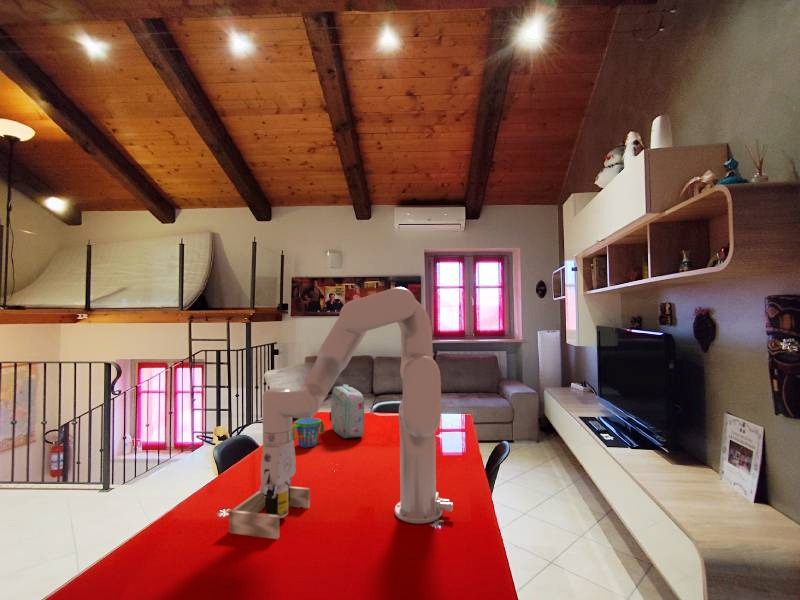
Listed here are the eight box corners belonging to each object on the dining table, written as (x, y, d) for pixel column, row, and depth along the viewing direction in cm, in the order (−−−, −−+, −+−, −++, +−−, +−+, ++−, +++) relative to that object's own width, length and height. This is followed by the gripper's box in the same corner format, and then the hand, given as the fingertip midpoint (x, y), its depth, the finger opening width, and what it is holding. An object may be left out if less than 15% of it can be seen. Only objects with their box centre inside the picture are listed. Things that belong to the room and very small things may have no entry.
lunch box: (327, 427, 194) (327, 383, 195) (348, 425, 199) (347, 381, 200) (343, 442, 170) (343, 391, 171) (366, 439, 174) (366, 389, 176)
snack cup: (317, 438, 176) (317, 415, 177) (331, 443, 169) (331, 419, 169) (284, 446, 165) (284, 421, 166) (297, 452, 158) (297, 426, 158)
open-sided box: (309, 506, 111) (309, 488, 112) (277, 539, 95) (277, 517, 95) (267, 502, 115) (267, 484, 115) (229, 532, 98) (229, 511, 98)
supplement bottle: (266, 521, 101) (266, 481, 102) (267, 511, 106) (267, 474, 107) (288, 517, 103) (288, 479, 103) (288, 508, 108) (288, 472, 108)
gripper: (272, 447, 96) (272, 525, 95) (306, 428, 113) (306, 494, 112) (245, 445, 98) (245, 522, 97) (282, 427, 115) (282, 492, 114)
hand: (278, 506), depth 105 cm, fingers closed on supplement bottle, 5 cm apart
